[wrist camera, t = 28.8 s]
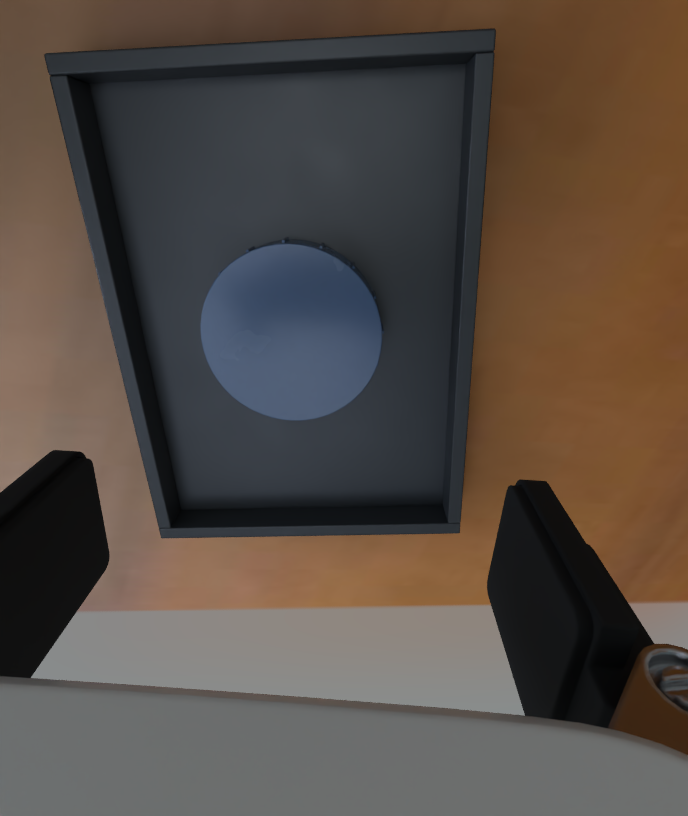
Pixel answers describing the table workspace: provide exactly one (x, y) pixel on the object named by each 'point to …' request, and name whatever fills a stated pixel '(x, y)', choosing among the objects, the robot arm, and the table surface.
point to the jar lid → (292, 330)
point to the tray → (297, 219)
